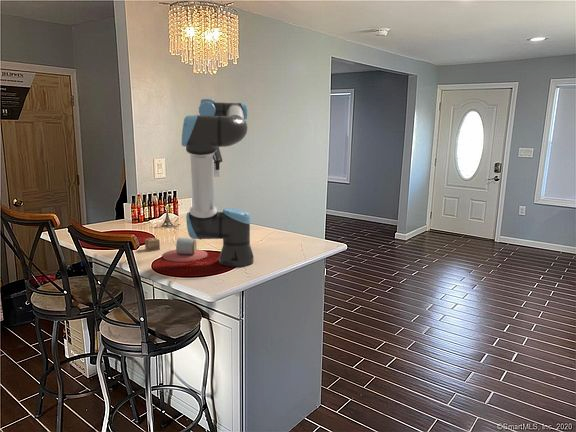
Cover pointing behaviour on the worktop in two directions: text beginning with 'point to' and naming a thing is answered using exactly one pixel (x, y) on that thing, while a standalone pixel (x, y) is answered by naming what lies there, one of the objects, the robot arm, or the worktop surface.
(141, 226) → the worktop surface
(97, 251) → the worktop surface
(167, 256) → the placemat
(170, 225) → the eiffel tower figurine
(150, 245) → the walnut cube
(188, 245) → the light grey block
